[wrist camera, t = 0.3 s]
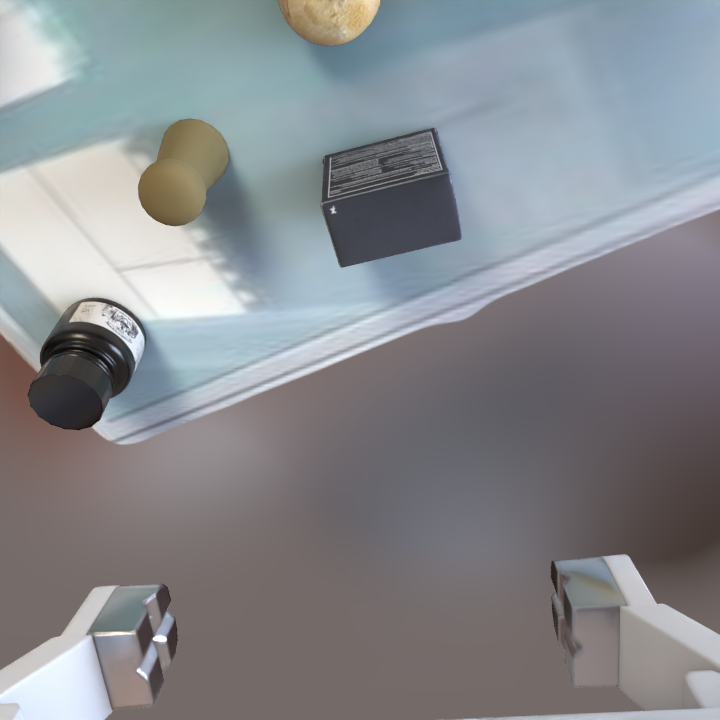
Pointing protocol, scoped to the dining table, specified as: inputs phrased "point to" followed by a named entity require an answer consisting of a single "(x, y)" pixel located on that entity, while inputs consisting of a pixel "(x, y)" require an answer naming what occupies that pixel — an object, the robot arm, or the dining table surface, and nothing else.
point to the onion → (329, 19)
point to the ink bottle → (86, 363)
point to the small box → (389, 198)
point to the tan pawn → (183, 172)
